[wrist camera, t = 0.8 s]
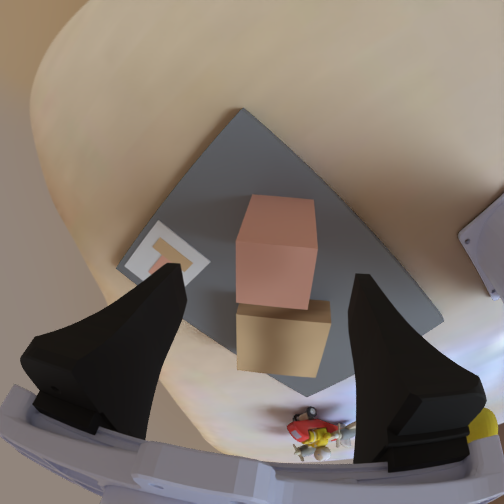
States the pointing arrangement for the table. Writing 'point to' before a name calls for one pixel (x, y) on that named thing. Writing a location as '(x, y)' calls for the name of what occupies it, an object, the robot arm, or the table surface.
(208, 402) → the table surface
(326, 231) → the board
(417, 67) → the table surface
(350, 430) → the toy airplane
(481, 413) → the lemon
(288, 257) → the pillar
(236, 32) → the table surface
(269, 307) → the slab
